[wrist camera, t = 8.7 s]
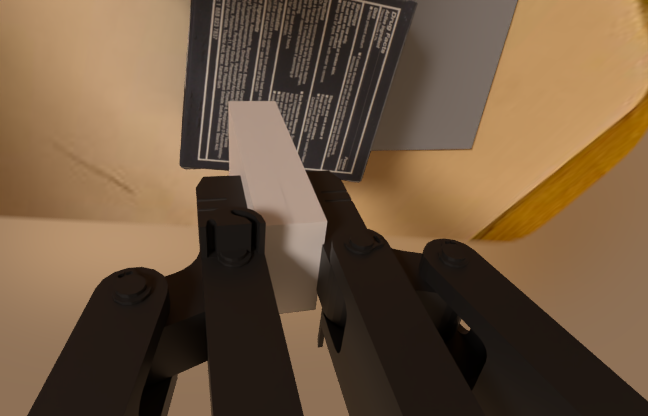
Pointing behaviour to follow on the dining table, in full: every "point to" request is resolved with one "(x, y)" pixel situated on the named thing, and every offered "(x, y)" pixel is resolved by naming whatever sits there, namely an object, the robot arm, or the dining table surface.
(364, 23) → the small box
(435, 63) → the mat
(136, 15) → the dining table surface
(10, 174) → the dining table surface
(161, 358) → the robot arm
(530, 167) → the dining table surface
